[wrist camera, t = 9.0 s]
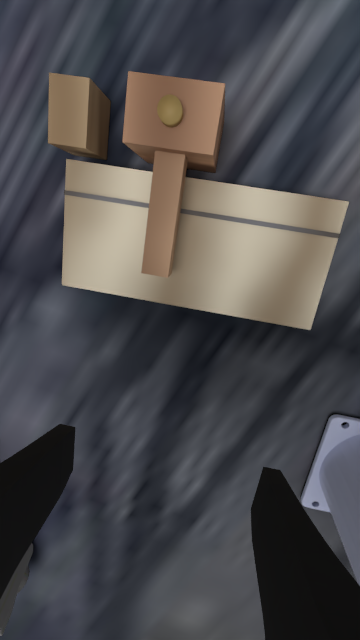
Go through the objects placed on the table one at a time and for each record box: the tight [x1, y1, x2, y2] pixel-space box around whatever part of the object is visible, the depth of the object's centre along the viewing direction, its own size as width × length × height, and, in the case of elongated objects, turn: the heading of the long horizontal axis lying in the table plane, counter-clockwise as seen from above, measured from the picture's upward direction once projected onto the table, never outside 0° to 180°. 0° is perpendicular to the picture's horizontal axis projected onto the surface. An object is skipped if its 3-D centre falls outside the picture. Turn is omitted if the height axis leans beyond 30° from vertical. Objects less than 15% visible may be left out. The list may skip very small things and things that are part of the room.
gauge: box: [123, 71, 225, 278], centre depth 16 cm, size 4×8×6 cm, turn 171°
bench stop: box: [48, 73, 111, 160], centre depth 17 cm, size 2×3×3 cm, turn 171°
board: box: [62, 159, 349, 330], centre depth 18 cm, size 15×7×2 cm, turn 81°
